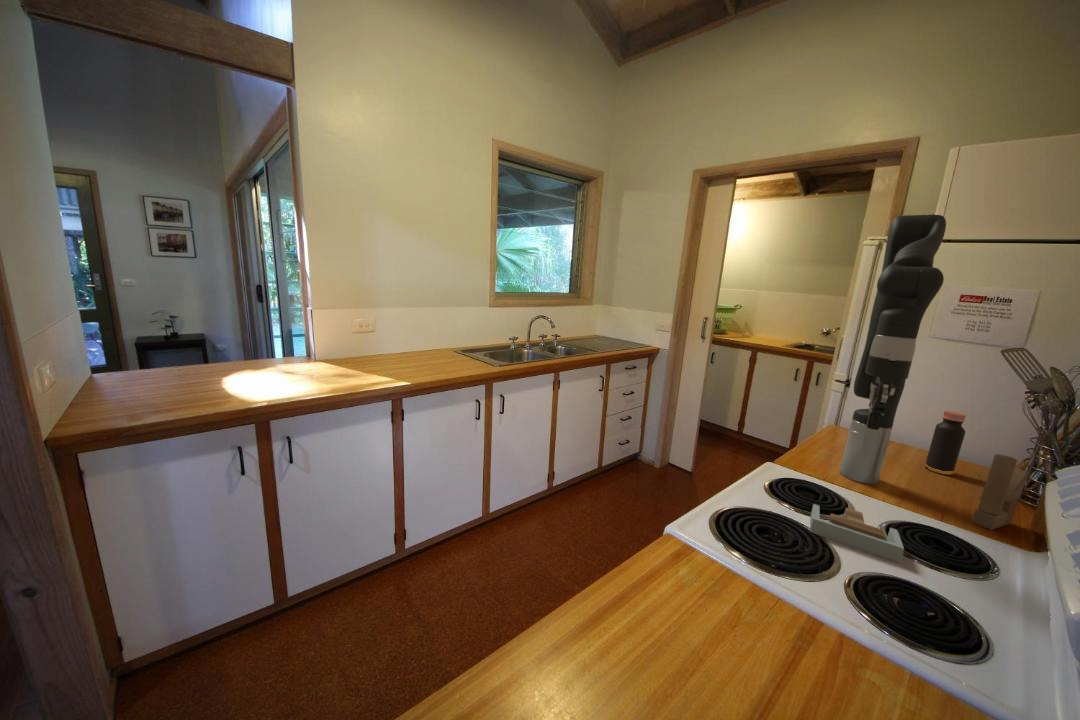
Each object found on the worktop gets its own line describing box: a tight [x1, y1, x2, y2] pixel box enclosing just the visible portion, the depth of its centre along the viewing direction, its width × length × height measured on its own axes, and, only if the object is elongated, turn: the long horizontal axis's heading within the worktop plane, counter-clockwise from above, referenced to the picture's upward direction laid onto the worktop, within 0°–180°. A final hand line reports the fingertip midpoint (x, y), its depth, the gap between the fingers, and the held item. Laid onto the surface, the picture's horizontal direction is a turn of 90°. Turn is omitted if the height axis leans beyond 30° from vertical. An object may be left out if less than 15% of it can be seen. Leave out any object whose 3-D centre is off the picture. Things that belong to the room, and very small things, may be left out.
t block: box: [828, 507, 885, 540], centre depth 89 cm, size 9×9×4 cm
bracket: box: [809, 503, 905, 564], centre depth 88 cm, size 8×15×3 cm, turn 55°
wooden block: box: [971, 453, 1029, 531], centre depth 99 cm, size 4×11×18 cm, turn 113°
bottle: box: [925, 410, 967, 472], centre depth 130 cm, size 7×7×20 cm
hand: (872, 428), depth 94 cm, fingers closed
